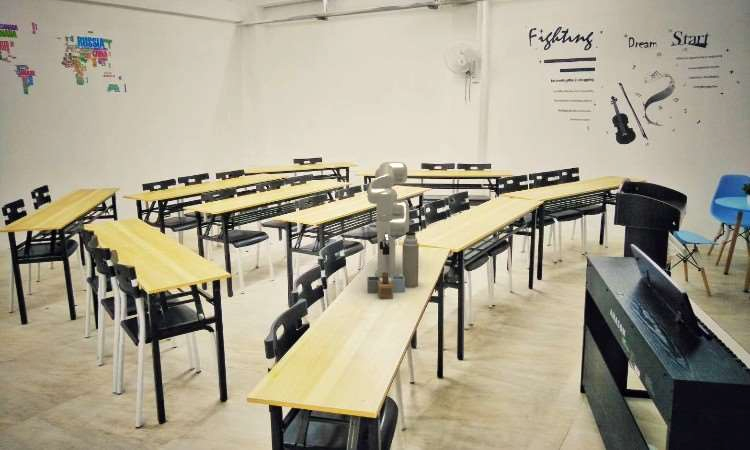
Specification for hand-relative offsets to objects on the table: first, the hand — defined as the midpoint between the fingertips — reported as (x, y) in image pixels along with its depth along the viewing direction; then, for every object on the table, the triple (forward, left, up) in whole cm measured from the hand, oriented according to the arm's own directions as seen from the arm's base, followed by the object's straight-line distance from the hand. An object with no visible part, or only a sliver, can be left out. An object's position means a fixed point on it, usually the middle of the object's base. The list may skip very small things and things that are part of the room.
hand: (384, 251), depth 260 cm
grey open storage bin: (0, -5, -20) cm, 21 cm away
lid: (+8, 0, -14) cm, 16 cm away
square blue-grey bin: (0, +7, -20) cm, 21 cm away
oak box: (+8, 0, -20) cm, 22 cm away
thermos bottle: (-7, +14, -21) cm, 26 cm away
